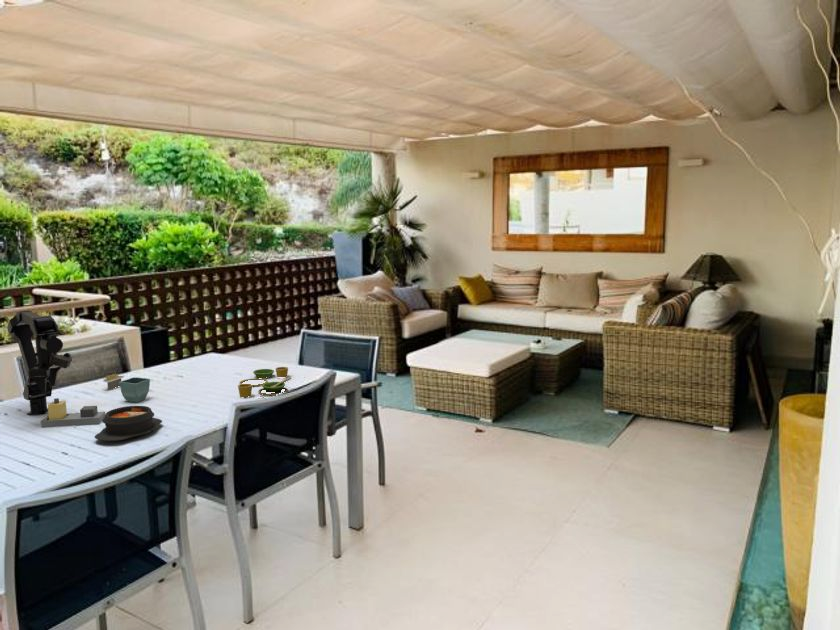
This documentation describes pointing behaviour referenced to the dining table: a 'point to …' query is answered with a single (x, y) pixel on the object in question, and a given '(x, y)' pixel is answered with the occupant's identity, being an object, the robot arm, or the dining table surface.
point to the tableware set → (270, 386)
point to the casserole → (127, 423)
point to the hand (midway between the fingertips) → (48, 388)
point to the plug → (57, 409)
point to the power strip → (76, 418)
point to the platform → (113, 381)
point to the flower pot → (135, 389)
